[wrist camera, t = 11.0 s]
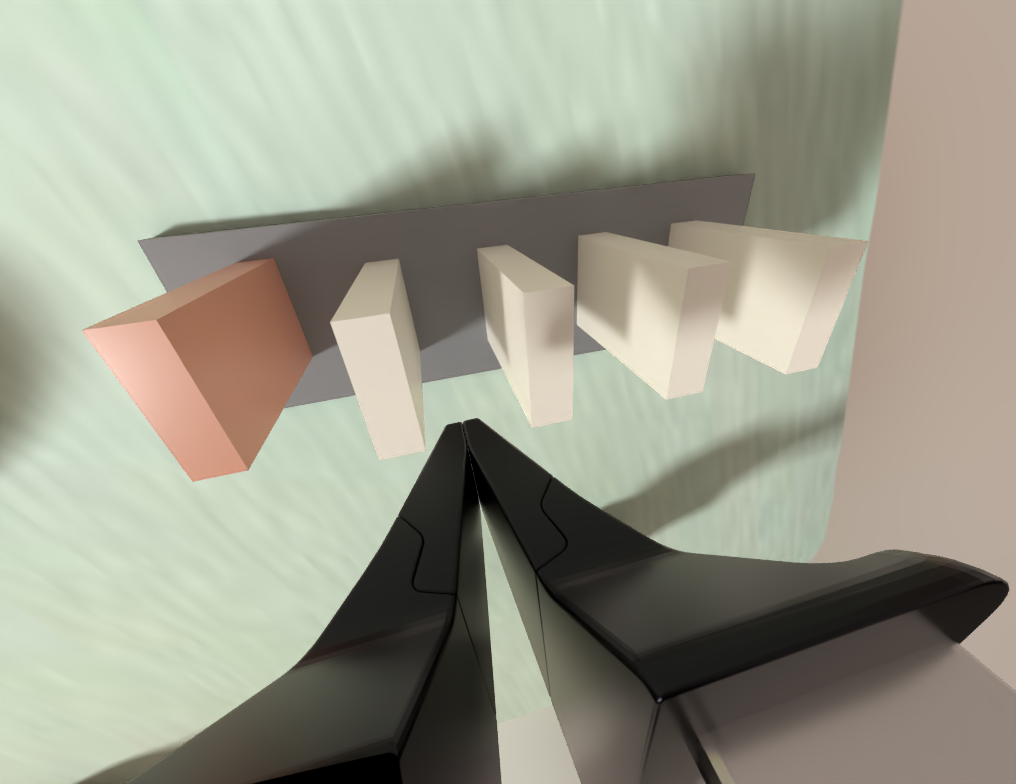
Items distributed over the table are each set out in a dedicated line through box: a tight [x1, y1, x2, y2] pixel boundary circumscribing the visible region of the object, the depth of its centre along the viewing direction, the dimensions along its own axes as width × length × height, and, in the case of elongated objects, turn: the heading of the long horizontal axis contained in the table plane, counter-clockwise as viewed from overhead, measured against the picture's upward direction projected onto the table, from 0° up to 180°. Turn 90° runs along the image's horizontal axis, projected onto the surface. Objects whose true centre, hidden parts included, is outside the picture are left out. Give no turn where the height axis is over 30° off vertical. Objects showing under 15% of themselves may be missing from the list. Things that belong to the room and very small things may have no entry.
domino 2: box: [477, 245, 574, 428], centre depth 16 cm, size 5×2×9 cm, turn 4°
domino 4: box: [668, 220, 868, 374], centre depth 18 cm, size 5×2×9 cm, turn 4°
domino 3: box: [577, 232, 732, 400], centre depth 17 cm, size 5×2×9 cm, turn 4°
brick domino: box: [82, 258, 313, 481], centre depth 14 cm, size 5×2×9 cm, turn 4°
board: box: [138, 174, 755, 408], centre depth 20 cm, size 9×30×1 cm, turn 94°
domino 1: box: [330, 259, 426, 460], centre depth 15 cm, size 5×2×9 cm, turn 4°
